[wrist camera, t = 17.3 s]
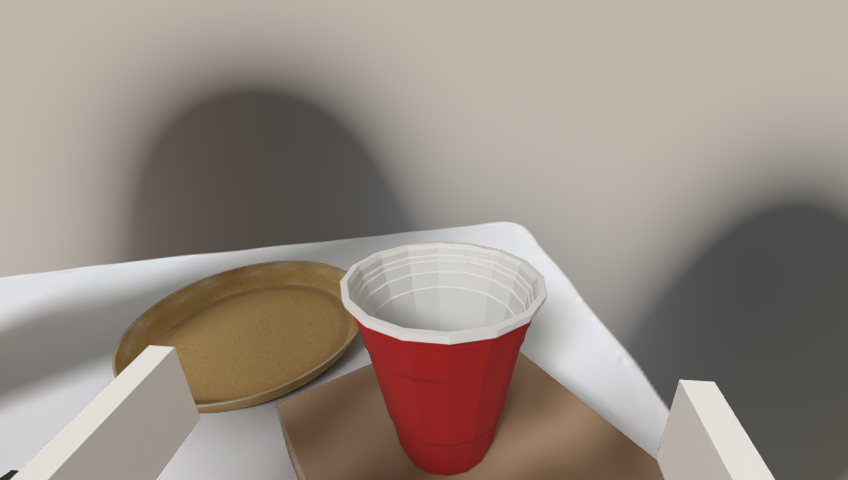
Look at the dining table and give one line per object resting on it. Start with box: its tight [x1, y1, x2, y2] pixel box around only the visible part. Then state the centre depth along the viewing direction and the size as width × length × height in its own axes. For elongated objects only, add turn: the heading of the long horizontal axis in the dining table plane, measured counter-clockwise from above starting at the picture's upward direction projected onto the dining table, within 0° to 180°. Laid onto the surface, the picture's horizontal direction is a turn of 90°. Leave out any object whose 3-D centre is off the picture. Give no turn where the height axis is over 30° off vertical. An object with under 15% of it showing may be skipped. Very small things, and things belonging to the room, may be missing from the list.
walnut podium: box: [276, 352, 665, 480], centre depth 29 cm, size 18×18×5 cm
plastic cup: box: [340, 242, 547, 476], centre depth 26 cm, size 11×11×12 cm
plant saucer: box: [112, 261, 359, 413], centre depth 46 cm, size 24×24×3 cm
